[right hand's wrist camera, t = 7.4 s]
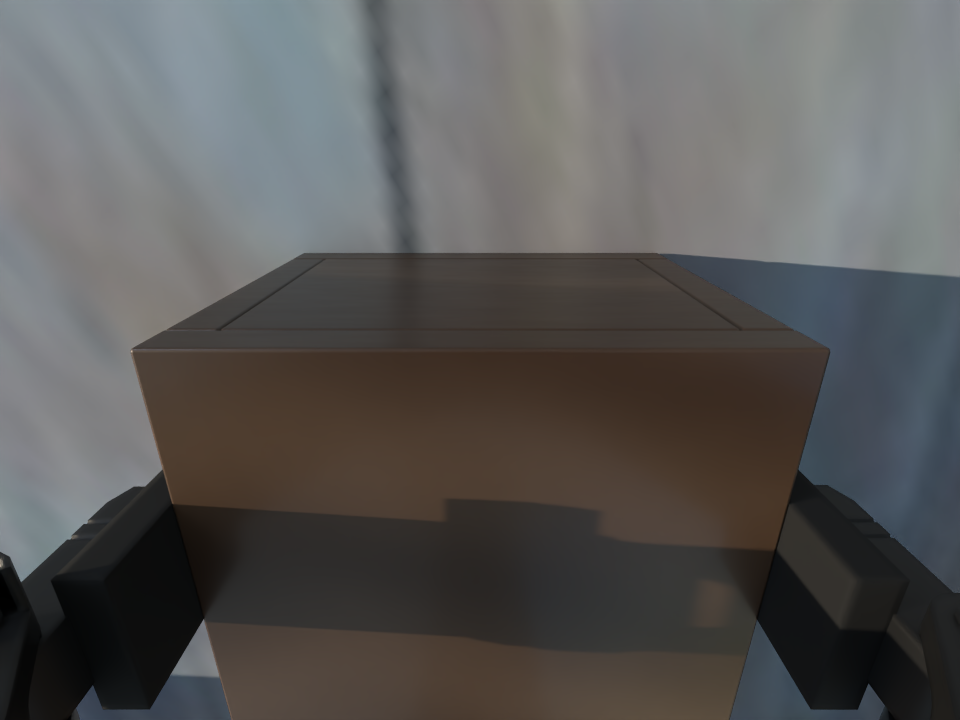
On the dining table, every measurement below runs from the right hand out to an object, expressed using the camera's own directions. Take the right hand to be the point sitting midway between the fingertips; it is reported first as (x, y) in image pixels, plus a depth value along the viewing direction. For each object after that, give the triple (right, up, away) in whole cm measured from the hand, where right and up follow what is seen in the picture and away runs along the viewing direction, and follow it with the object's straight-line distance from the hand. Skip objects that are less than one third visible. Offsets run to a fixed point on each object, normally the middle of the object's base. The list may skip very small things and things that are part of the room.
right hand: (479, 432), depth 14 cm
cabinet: (0, -5, +6) cm, 7 cm away
